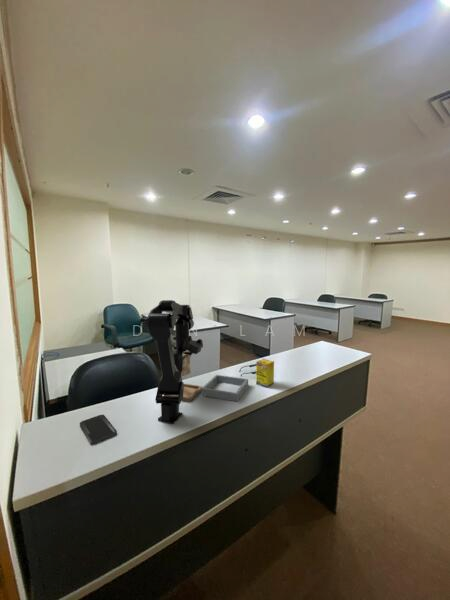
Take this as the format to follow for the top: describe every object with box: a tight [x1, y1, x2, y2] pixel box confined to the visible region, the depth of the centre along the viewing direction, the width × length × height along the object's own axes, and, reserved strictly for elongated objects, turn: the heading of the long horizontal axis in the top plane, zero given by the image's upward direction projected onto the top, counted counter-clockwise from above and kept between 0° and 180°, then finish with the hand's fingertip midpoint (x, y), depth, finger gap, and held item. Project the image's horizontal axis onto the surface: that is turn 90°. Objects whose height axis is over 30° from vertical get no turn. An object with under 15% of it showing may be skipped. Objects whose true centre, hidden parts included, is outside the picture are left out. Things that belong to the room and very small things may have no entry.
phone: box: [79, 414, 118, 446], centre depth 82 cm, size 8×1×15 cm
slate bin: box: [201, 374, 249, 402], centre depth 109 cm, size 16×16×3 cm
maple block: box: [175, 354, 191, 377], centre depth 106 cm, size 4×4×8 cm
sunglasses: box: [239, 363, 256, 377], centre depth 128 cm, size 10×12×5 cm
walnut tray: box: [163, 383, 203, 403], centre depth 107 cm, size 12×12×2 cm
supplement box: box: [255, 358, 275, 389], centre depth 115 cm, size 6×6×11 cm
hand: (183, 370), depth 106 cm, fingers closed on maple block, 4 cm apart
